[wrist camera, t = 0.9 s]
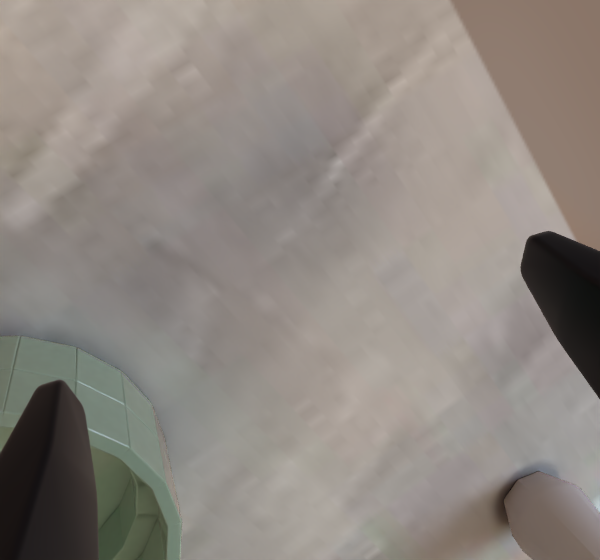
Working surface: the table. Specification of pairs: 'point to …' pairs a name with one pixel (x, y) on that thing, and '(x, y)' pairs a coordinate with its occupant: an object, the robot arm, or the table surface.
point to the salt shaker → (553, 519)
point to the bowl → (104, 444)
